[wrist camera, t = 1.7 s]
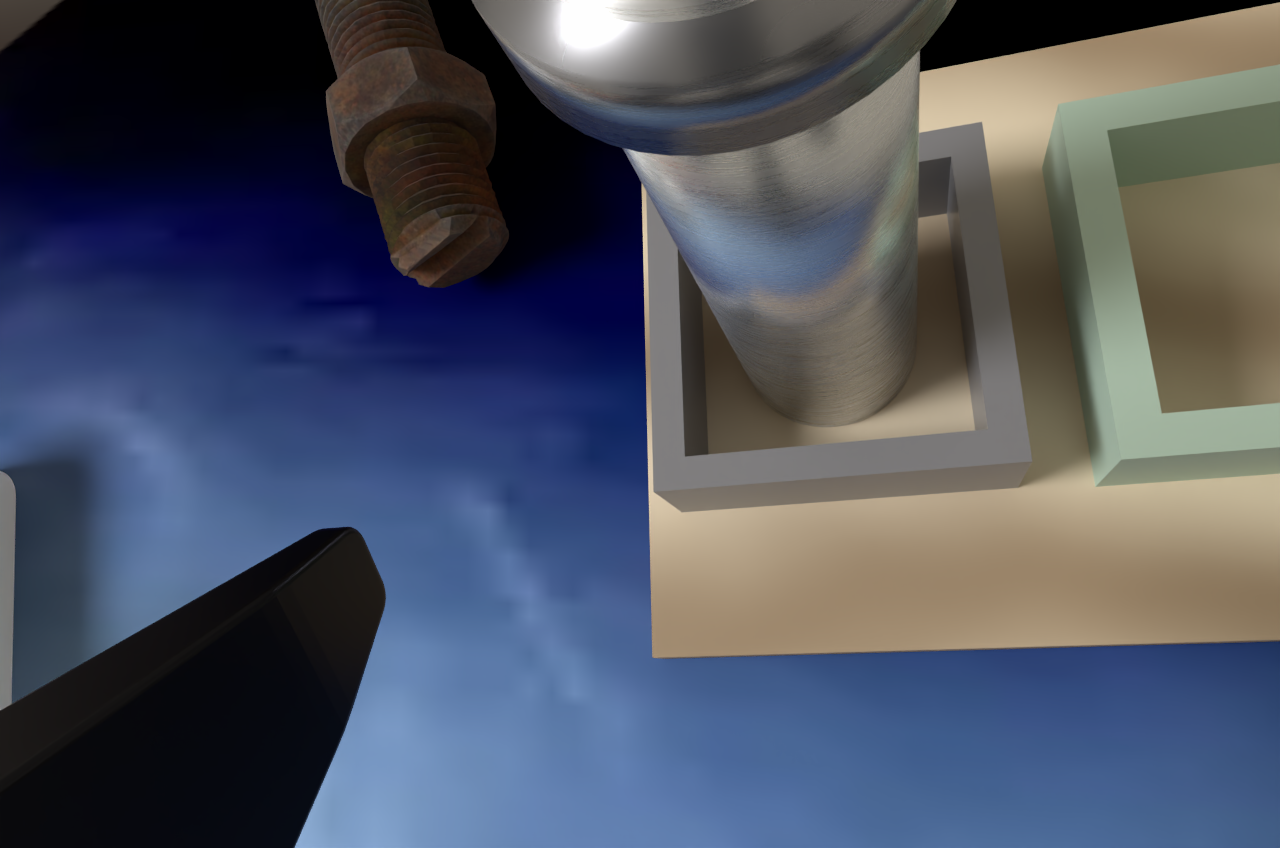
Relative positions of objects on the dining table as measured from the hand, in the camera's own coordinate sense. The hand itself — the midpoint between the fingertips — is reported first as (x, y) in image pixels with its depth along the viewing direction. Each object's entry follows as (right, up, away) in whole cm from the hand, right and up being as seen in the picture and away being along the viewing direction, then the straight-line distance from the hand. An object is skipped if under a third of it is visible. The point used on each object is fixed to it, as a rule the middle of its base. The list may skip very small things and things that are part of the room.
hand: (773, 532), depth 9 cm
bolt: (-8, +11, +20) cm, 24 cm away
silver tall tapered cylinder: (+3, +3, +12) cm, 13 cm away
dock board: (+8, +3, +12) cm, 15 cm away
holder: (+3, +3, +13) cm, 14 cm away
